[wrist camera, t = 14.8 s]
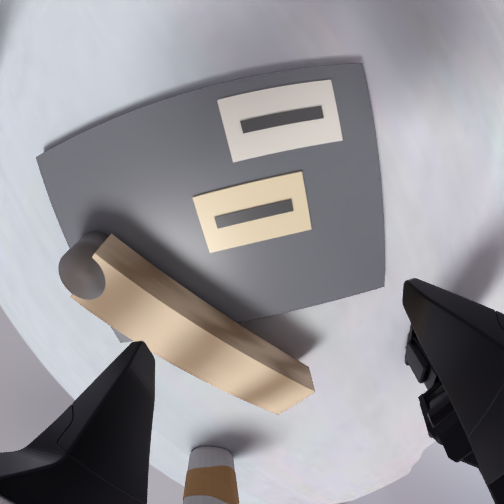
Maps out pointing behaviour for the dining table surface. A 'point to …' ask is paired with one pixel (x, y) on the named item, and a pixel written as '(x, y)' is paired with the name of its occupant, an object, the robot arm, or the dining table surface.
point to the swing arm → (180, 324)
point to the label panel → (238, 189)
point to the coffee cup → (211, 477)
